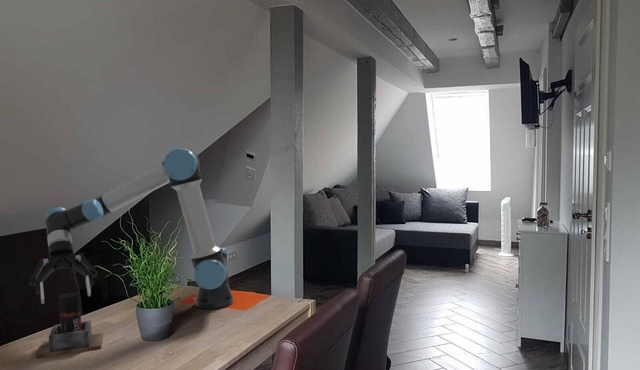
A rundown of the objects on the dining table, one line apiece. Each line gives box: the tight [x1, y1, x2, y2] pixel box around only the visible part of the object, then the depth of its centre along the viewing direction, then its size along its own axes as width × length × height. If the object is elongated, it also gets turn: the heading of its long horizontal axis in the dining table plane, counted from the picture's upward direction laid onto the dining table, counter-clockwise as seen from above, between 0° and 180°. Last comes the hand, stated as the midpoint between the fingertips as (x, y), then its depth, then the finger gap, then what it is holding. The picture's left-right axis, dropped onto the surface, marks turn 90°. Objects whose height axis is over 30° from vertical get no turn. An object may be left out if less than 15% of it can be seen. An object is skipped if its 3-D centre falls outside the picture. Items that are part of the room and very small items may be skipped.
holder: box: [35, 320, 104, 359], centre depth 156 cm, size 18×12×6 cm, turn 111°
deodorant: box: [58, 291, 82, 333], centre depth 156 cm, size 6×6×15 cm
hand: (66, 297), depth 159 cm, fingers open, 13 cm apart
